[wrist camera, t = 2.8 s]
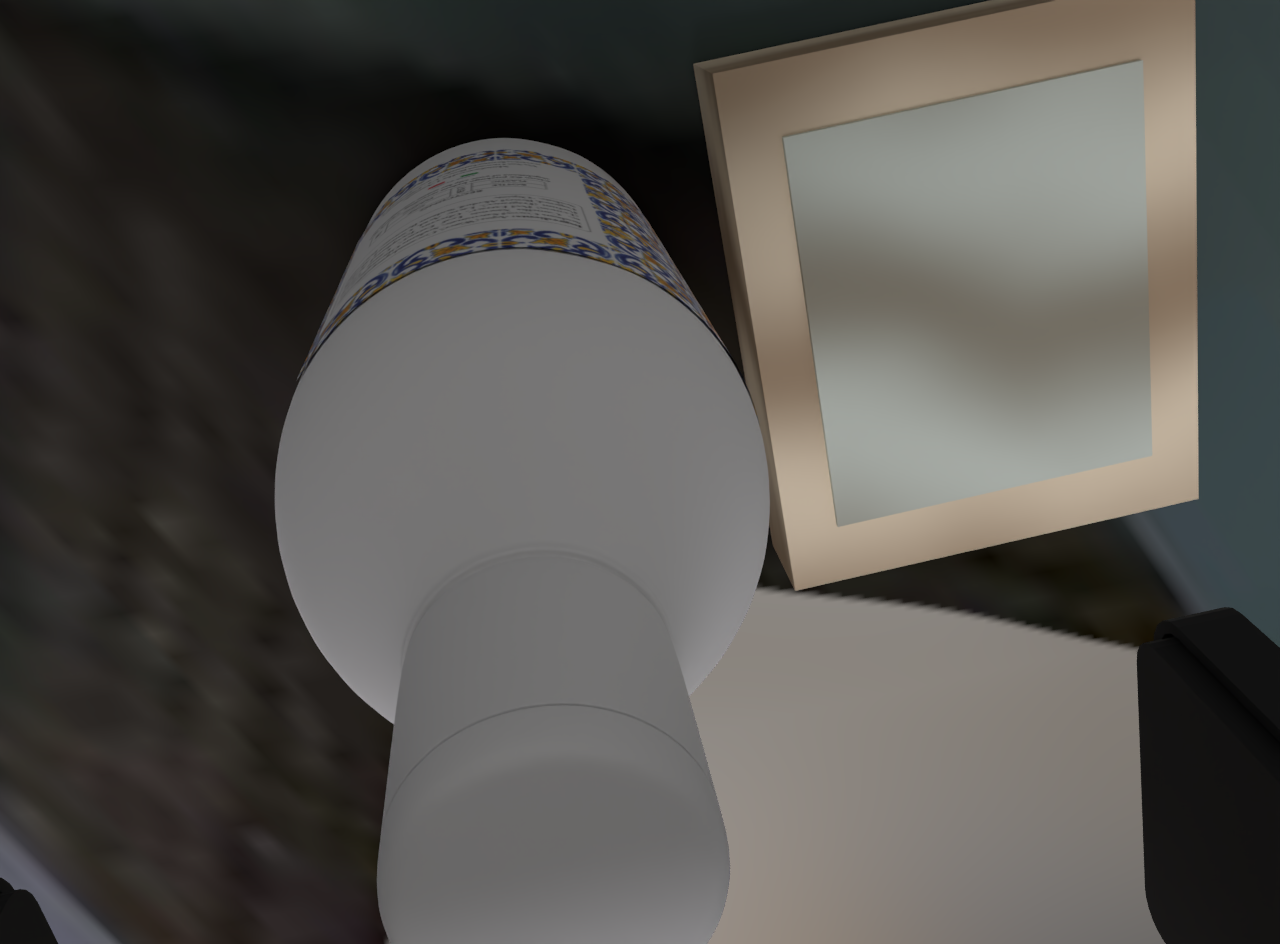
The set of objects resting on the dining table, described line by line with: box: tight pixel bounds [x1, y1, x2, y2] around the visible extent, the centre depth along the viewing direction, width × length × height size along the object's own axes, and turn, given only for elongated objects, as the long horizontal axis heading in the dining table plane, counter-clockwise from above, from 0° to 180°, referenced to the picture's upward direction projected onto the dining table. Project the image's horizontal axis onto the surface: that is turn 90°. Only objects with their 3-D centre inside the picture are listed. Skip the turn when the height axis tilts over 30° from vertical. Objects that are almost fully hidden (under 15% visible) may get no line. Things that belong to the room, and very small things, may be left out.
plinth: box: [693, 0, 1199, 591], centre depth 28 cm, size 12×10×3 cm
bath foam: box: [275, 138, 770, 944], centre depth 19 cm, size 7×7×20 cm
